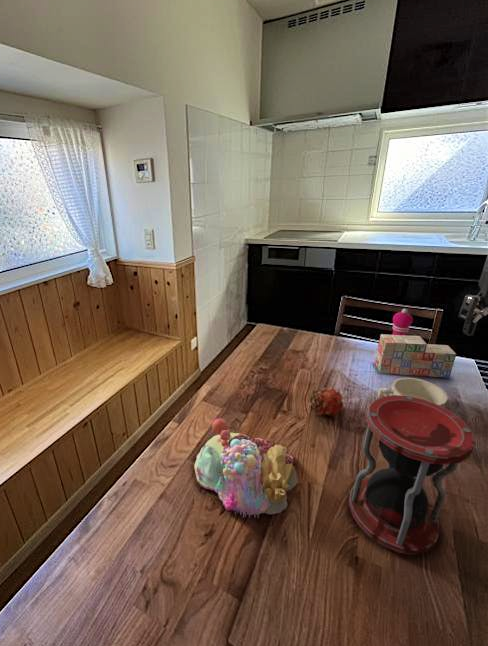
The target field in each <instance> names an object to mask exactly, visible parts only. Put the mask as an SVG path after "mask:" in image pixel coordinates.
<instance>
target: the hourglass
mask: <svg viewBox="0 0 488 646" xmlns="http://www.w3.org/2000/svg"><path fill="white" fill-rule="evenodd" d="M366 422H367V427H366V432H365V436H364V440H363V446H362V452H363V453H362V454H363V455H364V456H365V458H366V459H367V466H366V467H365V468H363V469H362V470H360V471H359V472H358V473H357V474H356V477H355V482H354V485H353V486H352V488H351V490H350V493H349V498H348V499H349V500H348V505H349V509H350V514H351V516H352V517H353V519H354V521H355V523H356V524H357V525H358V527H359V528H360V529H361V530H362V531H363V532H364V533H365V534H366V535H367V536H368V537H369V538H370V539H371V540H373V541H375V542H376V543H377V544H378V545H380V546H382V547H383V548H387V549H389V550H392V551H393V552H395V553H398V554H405V555H413V556H414V555H420V554H425V553H427V552H429V551H430V550H431V549H433V548H434V547H435V546H436V543H437V540H438V539H439V536H440V525H439V520H438V518H439V515H440V513H441V510H442V508H443V505H444V501H445V500H446V497H447V496H446V491H445V489H444V488H443V486H442V481H443V479H444V478H445V477H448V476H449V475H452V474H453V473H454V472H456V470H457V469H458V466H459V464H460V463H462V462H464V461H466V460H468V459H469V458H471V455H472V452H473V450H474V448H475V445H476V439H475V435H474V432H473V430H471V428H470V427H469V426H468V425H467V423H466V422H465V421H464V420H463V419H461V418H460V417H459V416H457V415H456V414H455V413H454V412H452V411H450V410H449V409H447V408H446V407H445V408H443V407H441V406H439V405H437V404H434V403H432V402H429V401H426V400H424V399H419V398H415V397H410V396H400V395H392V396H389V395H385V396H384V395H383V397H381V398H379V399H377V398H376V399H374V400H373V401H372V402H371V404H369V406H368V408H367V413H366ZM373 435H375V437H376V438H377V439H378V447H379V450H380V452H381V455H382V456H383V459H385V461H386V462H387V463H388V464H387V467H386V468H382V469H379V470H377V471H376V472H374V471H375V469H376V468H377V464H376V463H377V462H376V458H375V457H374V456H373V455H372V454H371V451H370V448H371V445H372V439H373ZM444 466H445V467H444ZM443 467H444V468H443ZM373 472H374V473H373ZM371 474H372V475H371ZM369 475H371V476H370V477H366V476H369ZM432 475H433V476H432ZM430 476H432V477H431V480H432V486H433V487H434V488H435V490H436V491H437V492H436V493H437V497H436V499H435V503H434V505H433V508H432V507H431V506H430V505H429V498H428V495H427V493H426V491H425V489H424V487H423V486H424V482H425V480H426V477H430ZM365 477H366V478H365Z"/></svg>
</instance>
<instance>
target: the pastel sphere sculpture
mask: <svg viewBox="0 0 488 646" xmlns="http://www.w3.org/2000/svg"><path fill="white" fill-rule="evenodd" d="M228 428H229V427H228V423H227V421H226V420H225V419H223V418H215V420H213V421H212V423H211V430H212V431H213V433H214V434H216V435H213V436H212V437H211V438H210V439H208V440H207V441H206V442H205V444H204V445H203V446H202V447H201V448H200V451H199V452H198V453H197V455H196V456H195V457H196V460H195V463H194V464H193V466H194V472H195V477H196V482H197V484H199V486H200V487H202V488H204V489H206V490H210V491H214V492H215V493H216V494H217V495H218V498H219V501H221V502H222V505H223V507H224V508H225V510H226V511H234V514H235V515H236V513H237V514H238V513H239V515H242V518H243V519H244V518H245V517H247V515H248V519H250V518H251V516H253V515H254V518H256V516H257V519H259V517H260V516H259V515H261V514H267V515H275V514H280V513H282V512H283V511H284V510H286V509H287V507H288V505H289V504H288V501H287V498H288V495H287V492H288V491H291V490H292V489H293V488H295V487H296V486H297V483H298V482H299V479H298V477H297V470H296V468H295V466H294V465H293V464H294V457H293V456H292V455H290V454H288V448H287V447H284V446H283V445H281V444H277V443H276V442H275V441H272V439H270V438H266V439H263V438H260V437H256V438H250V437H249V436H248V435H246V434H245V433H244V434H243V433H240V432H237V433H236V432H230V431H229V430H228Z"/></svg>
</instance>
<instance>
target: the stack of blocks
mask: <svg viewBox="0 0 488 646" xmlns="http://www.w3.org/2000/svg"><path fill="white" fill-rule="evenodd" d="M456 356H457V353H456V352H455V351H454V350H453V349H452V348H451V347H450V346H449V344H448V345H447V344H432V343H431V344H430V343H429V344H428V343H426V341H425V340H424V339H423V338H422V336H420V335H408V334H406V335H392V334H383V333H381V334H380V335H379V340H378V345H377V351H376V356H375V360H374V365H375V367H376V368H377V371H378V373H380V374H389V375H402V376H420V377H431V378H432V377H434V378H443V379H444V378H445V379H449V378H450V377H451V373H452V372H453V371H452V370H453V369H454V368H453V367H454V364H455V362H456V361H455V360H456Z"/></svg>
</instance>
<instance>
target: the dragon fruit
mask: <svg viewBox="0 0 488 646" xmlns="http://www.w3.org/2000/svg"><path fill="white" fill-rule="evenodd" d="M309 403H310V404H311V405H310V409H311V410H313V411H315V415H317V416H319V417H320V416H328V417H332V418H335V417H336V413H337V412H340V411H342V409H343V406H344V402H343V396H342V393H341V392H340V391H337V390H335V389H334V388H330V389H329V388H328V387H325V388H322V389H320V390H313V391H312V396H311V397H310V398H309Z"/></svg>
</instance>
